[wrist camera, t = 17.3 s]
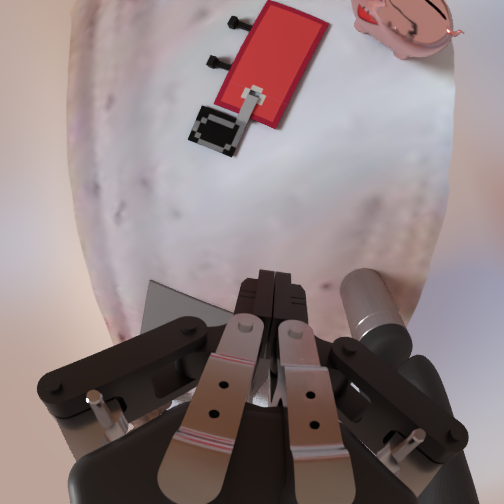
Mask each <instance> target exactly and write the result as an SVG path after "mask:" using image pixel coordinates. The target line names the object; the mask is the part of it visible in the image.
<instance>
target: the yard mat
mask: <svg viewBox="0 0 504 504" xmlns="http://www.w3.org/2000/svg"><path fill="white" fill-rule="evenodd" d="M233 315H234V313H232V312H229V311H227V310H224V309H221V308H219V307H216V306H214V305H211V304H208V303H206V302H203V301H201V300H198V299H196V298H193V297H191V296H188V295H186V294H183V293H181V292H178V291H176V290H174V289H171V288H169V287H166V286H164V285H162V284H159V283H157V282H155V281H152V280H150V281H149V286H148V291H147V296H146V302H145V308H144V314H143V320H142V326H141V333H140V335H141V334H143V333H145V332H148V331H150V330H152V329H155V328H157V327H159V326H161V325H164V324H166V323H168V322H170V321H173V320H175V319H177V318H180V317H183V316H194V317H198V318H200V319H202V320H203V321H204V322H205V323H206V325H207V327H212V326H220V325H224V324H226V323H228V320H229V319H230V318H231V317H232V316H233ZM265 354H266V349H265ZM265 354H264V359H261V358H260V360H259V365H258V368H257V369H256V373H255V377H254V380H255V387H254V395H255V393H256V392H257V391H258V389H259V388H260V387H261V385H262V384H263V383H264V381H265V380H266V378H267V377H268V372H269V367H270V359H265ZM254 395H253V396H254Z"/></svg>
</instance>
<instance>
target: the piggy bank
mask: <svg viewBox="0 0 504 504" xmlns="http://www.w3.org/2000/svg"><path fill="white" fill-rule="evenodd" d="M351 4H352V8H353V12H354V15H355V17H356V20H355V23H354V27H355V29H356V30H357V31H359V32H361V33H368V34H370V35H371V36H372V37H373V38H375V39H376V40H377V41H379V42H380V43H382V44H383V45H385V46H386V47H388V48H390V49H392V50H393V53H394V55H395V56H396V57H397V58H399V59H401V60H405V59H407V58H408V57H409V56H411V57H428V56H431V55H434V54H436V53H438V52H440V51H442V50H443V49H444V48H445V47H446V46H447V45H448V44H449V42H450V40H451V38H452V37H456V36H458V35H459V34H460V33H464V32H463V31H461V30H458V31H456V32H454V31H453V20H452V15H451V12H450V10H449V7H448V5H447V4H446V2H445V1H444V0H351Z"/></svg>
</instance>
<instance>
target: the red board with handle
mask: <svg viewBox="0 0 504 504" xmlns="http://www.w3.org/2000/svg"><path fill="white" fill-rule="evenodd" d="M227 24H228V26H229V28H231V29H235V28H236V27H238V28H241V29H244V30H246V31H249V33H248V35H247V37H246V39H245V41H244V43H243V44H242V46H241V48H240V50H239V52H238V54H237V56H236V58H235V60H234V62H233V64H232V66H231V65H228V64H226V63H223V62H220V61H218V58H217V57H216V56H212V55H210V57H209V59H208V61H207V63H206V65H207V66H208V67H210V68H213V69H214V68H215V66H217V67H220V68H222V69H225V70H228V71H229V72H228V74H227V76H226V78H225V80H224V82H223V84H222V86H221V89H220V91H219V93H218V95H217V97H216V99H215V102H214V104H215V105H217V106H220V107H223V108H225V109H228V110H231V111H233V112H236V113H238V116H237V118H234V117H231V116H229V115H226V114H224V113H221V112H218V111H216V110H213V109H210V108H207V107H205V106H202V107H201V109H200V111H199V114H198V116H197V118H196V121H195V123H194V126H193V128H192V130H191V133H190V135H189V138H188V140H190V141H192V142H195V143H198V144H200V145H203V146H205V147H208V148H210V149H213V150H215V151H217V152H220V153H222V154H225V155H227V156H229V157H232V156H233V154H234V151H235V149H236V147H237V145H238V142H239V140H240V138H241V136H242V134H243V131H244V129H245V127H246V125H247V123H248V121H249V119H253V120H255V121H258V122H260V123H262V124H265V125H267V126H269V127H271V128H274V129H276V127H277V125H278V123H279V121H280V119H281V117H282V115H283V113H284V111H285V109H286V107H287V105H288V103H289V101H290V99H291V96H292V94H293V92H294V90H295V88H296V86H297V84H298V82H299V81H300V79H301V77H302V75H303V73H304V71H305V69H306V67H307V65H308V63H309V61H310V59H311V57H312V55H313V53H314V51H315V49H316V47H317V45H318V44H319V42H320V40H321V38H322V36H323V34H324V32H325V30H326V28H327V27H328V25H329V23H327V22H325V21H322V20H320V19H318V18H316V17H313V16H311V15H309V14H306V13H304V12H301V11H299V10H296V9H293V8H291V7H288V6H285V5H282V4H280V3H277V2H274V1H271V0H267V2H266V4H265V5H264V7H263V9H262V10H261V12H260V14H259V16H258V17H257V19H256V21H255V23H254V24H253V26H250V25H248V24H245V23H242V22H240V21H239V20H238V18H237V17H236V16H231V18H230V20H229V22H228V23H227ZM251 90H252V91H254V92H257V93H259V94H261V95H260V97H259V98H257V97H254V96H252V95H249V93H250V91H251Z"/></svg>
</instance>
